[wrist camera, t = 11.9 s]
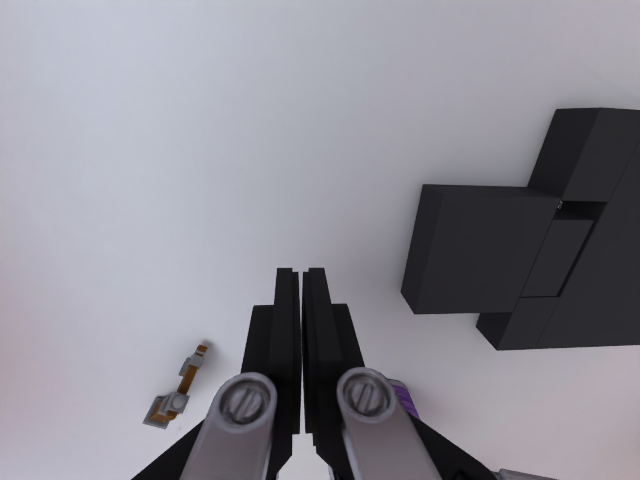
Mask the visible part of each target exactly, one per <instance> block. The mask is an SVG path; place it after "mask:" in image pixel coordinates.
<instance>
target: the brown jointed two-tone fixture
mask: <svg viewBox="0 0 640 480" xmlns="http://www.w3.org/2000/svg"><path fill="white" fill-rule="evenodd" d="M206 350H207V347H205V346H203V345H199V346H198V347H197V350H196V351H195V353H194V355H193V356H192V358H191V359H190V358H187V359H186V361H185V362H184V364H183V366H182V368H181V370H180V372H179V374H178V375H180V376H183V379H182V382H181V384H180V386H179V388H178V390H177V392H175V393H174V394H171V396H167V397H166V399H161V398H155V400H154V402H153V404H152V405H151V407H150V409H149V411H148V413H147V415H146V417H145V419H144V421H143V424H147V425H151V426H154V427H158V428H162V429H166V428H167V426H168V424H169V421H171V420H173V419H175V418H176V416H177V414H178V415H179V413H183V411H184V409H185V407H186V404H187V402H188V400H189V397H190V396H188V395H186V394H187V392H188V390H189V387H190V385H191V383H192V381H193V379H194V376H195V374H196V372H197V370H198V369H199V368H200V366H201V364H202V361H203V359H204V357H203V356H204V355H205V352H206Z"/></svg>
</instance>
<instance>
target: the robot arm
mask: <svg viewBox="0 0 640 480" xmlns="http://www.w3.org/2000/svg"><path fill="white" fill-rule="evenodd" d="M301 341H302V347H301ZM302 365H303V388H304V412H305V432H306V434H307V433H312V434H313V446H316V453H317V454H318V455H319V456H320V457H321V458H322V459H323V460H324V461H325V462H326V463H327V464H328V470H329V475H330V480H557V479H552V478H547V477H542V476H537V475H532V474H526V473H521V472H516V471H511V470H506V469H500V471H499V472H493V471H490V470H489V469H488V468H486V467H485V466H484V465H483V464H482V463H480V462H479V461H478V460H476V459H475V458H473V457H472V456H470V455H469V454H468V453H466V452H465V451H463V450H462V449H460V448H459V447H458V446H456V445H455V444H453V443H452V442H451V441H449V440H448V439H446V438H445V437H443V436H442V435H441V434H439V433H438V432H436V431H435V430H433V429H432V428H431V427H429V426H428V425H426V424H425V423H423V422H422V421H421V420H419V419H418V418H416V417H415V416H414V415H412V414H411V413H409V412H408V411H406V410H405V408H404V406H403V404H402V402H401V400H400V398H399V396H398V395H397V393H396V391H395V389H394V387H393V386H392V384H391V383H390V381H389V380H388V379H387V378H386V377H385V376H384V375H382V374H381V373H379V372H377V371H375V370H373V369H370V368H366V367H365V365H364V361H363V358H362V354H361V351H360V347H359V344H358V340H357V337H356V333H355V330H354V326H353V322H352V319H351V315H350V312H349V308H348V306H347V304H331V299H330V294H329V289H328V285H327V280H326V275H325V270H324V268H309V272H303V287H302V321H301V323H300V299H299V275H298V272H292V268H277V276H276V287H275V298H274V305H254V307H253V311H252V316H251V321H250V326H249V331H248V337H247V342H246V347H245V352H244V357H243V363H242V368H241V373H240V374H239V375H236V376H234V377H233V378H231V379H229V380H228V381H226V382H225V383H224V384H223V385H222V386H221V387H220V388H219V390H218V392H217V393H216V395H215V397H214V399H213V401H212V404H211V406H210V408H209V411H208V413H207V415H206V418H205V419H204V420H203V421H201V422H200V423H199V424H198V425H197V426H195V427H194V428H193V429H192V430H191V431H189V432H188V433H187V434H186V435H184V436H183V437H182V438H181V439H180V440H178V441H177V442H176V443H175V444H174V445H172V446H171V447H170V448H169V449H168V450H166V451H165V452H164V453H163V454H161V455H160V456H159V457H158V458H157V459H155V460H154V461H153V462H152V463H151V464H149V465H148V466H147V467H146V468H145V469H143V470H142V471H141V472H140V473H138V474H137V475H136V476H135V477H134V478H132V479H131V480H278V477H279V470H280V469H281V468H282V467H283V465H284V464H285V463H286V462H287V461H288V459H289V458H290V457H291V456H292V435H293V434H300V407H301V377H302Z"/></svg>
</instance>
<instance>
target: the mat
mask: <svg viewBox="0 0 640 480" xmlns="http://www.w3.org/2000/svg"><path fill="white" fill-rule="evenodd" d="M528 188H531V189H534V190H538V191H541V192H544V193H548V194H551V195H554V196H558V197H560V198H561V200H560V201H564V203H563V205H562V207H561V209H562V210H565V211H568V212H571V213H574V214H577V215H580V216H583V217H586V218H589V219H591V220H594V221H593V223H592V225H591V227H590V229H589V232H588V234H587V236H586V238H585V240H584V242H583V244H582V246H581V248H580V250H579V252H578V254H577V256H576V258H575V260H574V262H573V264H572V266H571V268H570V270H569V272H568V274H567V276H566V278H565V280H564V282H563V284H562V286H561V288H560V290H559V292H558V294H557V296H519V298H518V300H517V303H516V305H515V307H514V310H513V312H496V313H481V314H480V317H479V320H478V323H477V325H476V327H477V329H478V330H479V331H480V332H481V333H482V334H483V335H484V337H485V338H486V339H487V340H488V341H489V342H490V343H491V345H492V346H493V347H494V348H495V349H496V350H497V351H499V350H525V349H548V348H573V347H599V346H624V345H640V110H630V109H615V108H571V109H557V110H556V112H555V114H554V117H553V120H552V122H551V125H550V128H549V131H548V133H547V136H546V139H545V141H544V144H543V147H542V149H541V152H540V155H539V158H538V160H537V163H536V166H535V168H534V171H533V174H532V177H531V179H530V182H529V185H528Z"/></svg>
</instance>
